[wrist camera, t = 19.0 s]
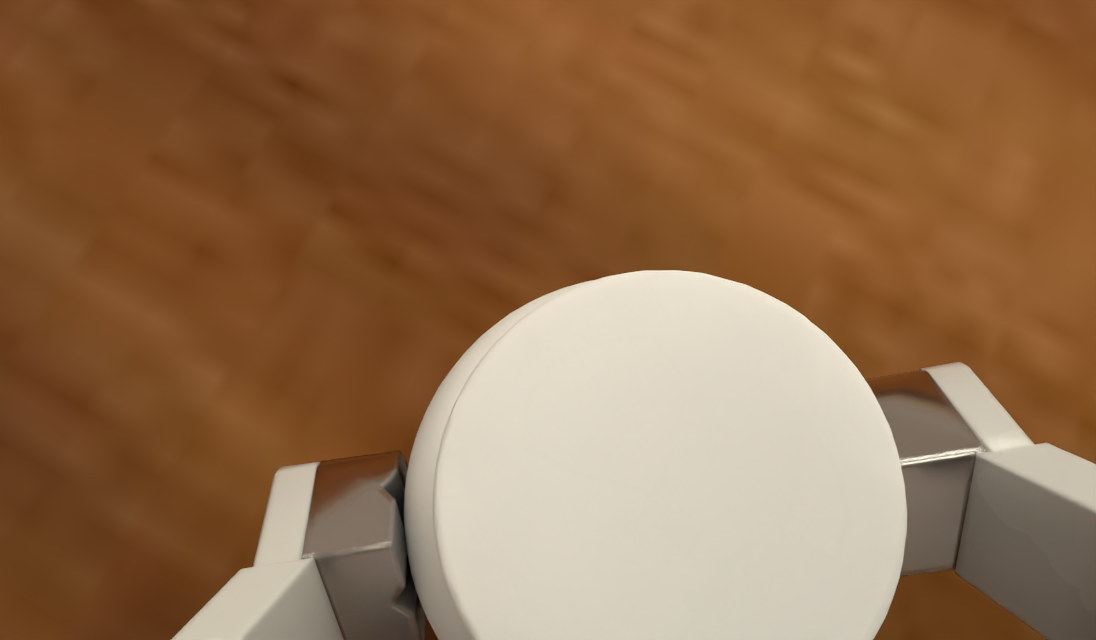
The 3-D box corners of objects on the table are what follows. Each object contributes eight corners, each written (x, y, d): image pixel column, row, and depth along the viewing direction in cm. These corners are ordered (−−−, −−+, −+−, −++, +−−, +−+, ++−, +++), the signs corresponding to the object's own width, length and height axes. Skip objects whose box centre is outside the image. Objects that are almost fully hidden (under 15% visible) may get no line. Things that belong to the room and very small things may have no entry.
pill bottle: (761, 378, 18) (996, 215, 8) (750, 675, 16) (1009, 891, 7) (478, 355, 18) (384, 168, 8) (449, 648, 17) (301, 822, 7)
